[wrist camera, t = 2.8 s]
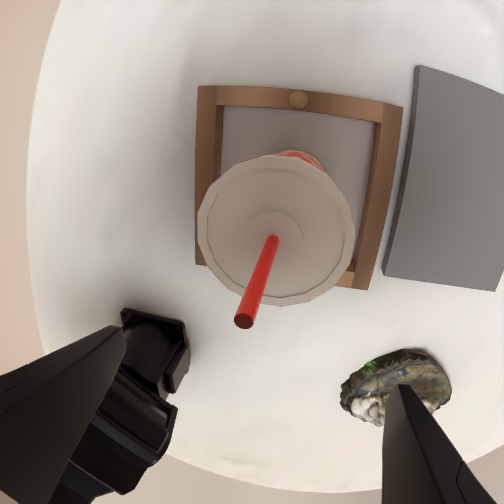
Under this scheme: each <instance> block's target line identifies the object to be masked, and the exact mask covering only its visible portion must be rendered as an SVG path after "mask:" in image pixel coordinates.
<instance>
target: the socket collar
mask: <svg viewBox="0 0 504 504" xmlns="http://www.w3.org/2000/svg"><path fill="white" fill-rule="evenodd" d="M223 105H230V106H251V107H267V108H279V109H290V110H299V111H308V112H316V113H324V114H331V115H338V116H344V117H351V118H356V119H362V120H368V121H373V122H377V125H376V133H375V141H374V149H373V156H372V163H371V169H370V176H369V182H368V188H367V194H366V200H365V205H364V211H363V216H362V221H361V226H360V231H359V236H358V241H357V246H356V250H355V255H354V259H353V262H350V265H349V266H348V268H347V269H346V270H345V272H344V273H343V274H342V276H341V277H340V278H339V280H338V281H337V282H336V284H335V285H334V286H340V287H347V288H354V289H361V290H368V288H369V284H370V280H371V277H372V273H373V269H374V265H375V262H376V258H377V254H378V250H379V246H380V241H381V237H382V233H383V228H384V224H385V219H386V215H387V210H388V205H389V200H390V195H391V189H392V184H393V178H394V172H395V166H396V160H397V153H398V147H399V139H400V132H401V124H402V115H403V107H399V106H395V105H390V104H386V103H381V102H376V101H371V100H366V99H360V98H354V97H348V96H342V95H335V94H328V93H321V92H313V91H304V90H294V89H283V88H269V87H250V86H198V99H197V122H196V155H195V261H196V264H197V265H203V266H207V264H206V261H205V259H204V256H203V254H202V252H201V249H200V247H199V244H198V239H197V213H198V211H199V209H200V206H201V204H202V202H203V200H204V197H205V195H206V193H207V191H208V188H209V187H210V186H211V185H212V184H213V183H214V182H215V181H216V180H217V179H218V178H220V168H221V144H222V123H223Z"/></svg>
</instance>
